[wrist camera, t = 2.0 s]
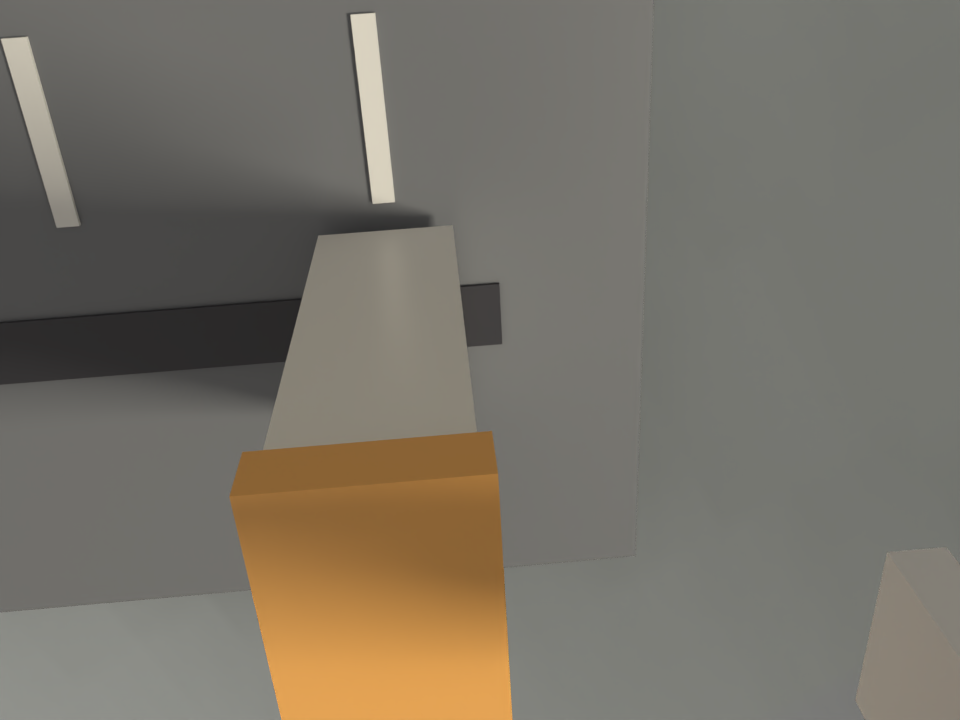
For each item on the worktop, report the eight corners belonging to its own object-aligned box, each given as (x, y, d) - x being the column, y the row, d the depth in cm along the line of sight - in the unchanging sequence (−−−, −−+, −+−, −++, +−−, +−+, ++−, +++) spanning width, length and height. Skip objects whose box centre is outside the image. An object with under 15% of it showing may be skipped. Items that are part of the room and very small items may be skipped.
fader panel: (624, 522, 27) (636, 558, 26) (-262, 600, 26) (-300, 641, 25) (639, -66, 19) (657, -61, 18) (-610, 19, 19) (-693, 30, 17)
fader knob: (475, 420, 23) (514, 756, 14) (339, 432, 23) (295, 778, 14) (461, 216, 20) (498, 474, 11) (308, 227, 20) (229, 496, 11)
